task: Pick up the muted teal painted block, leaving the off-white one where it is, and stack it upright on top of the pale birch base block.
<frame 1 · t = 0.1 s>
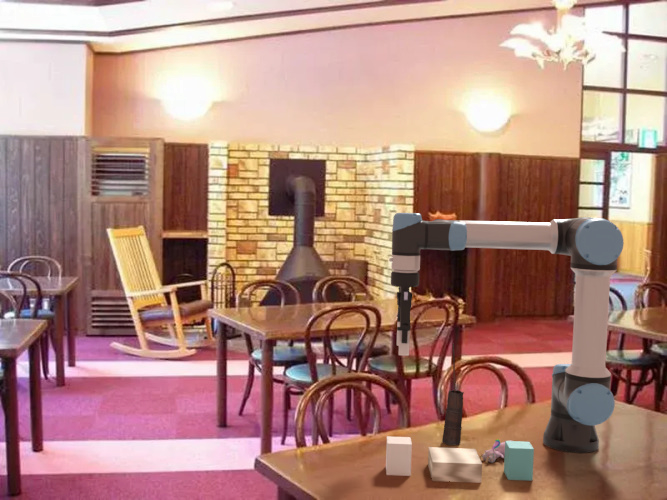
hand: (402, 350, 222), 28 cm above the table, fingers open, 13 cm apart
off-white block: (398, 471, 210), on the table
teal block: (518, 476, 209), on the table
butter churn: (454, 444, 234), on the table
pink animal figurine: (500, 459, 223), on the table
birch base: (453, 474, 209), on the table
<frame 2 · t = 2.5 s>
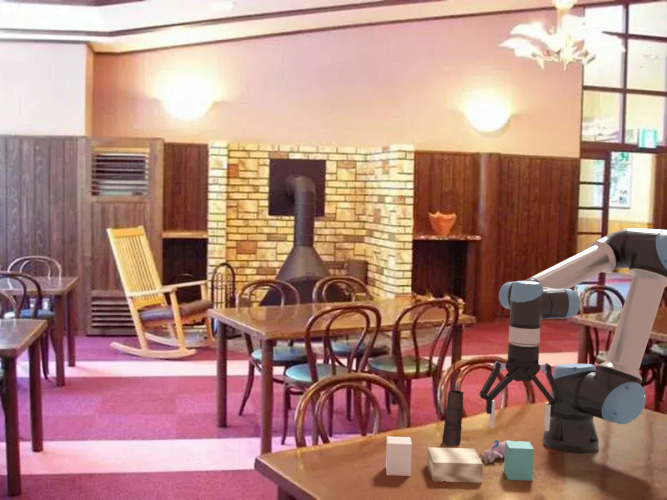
hand: (519, 428, 208), 12 cm above the table, fingers open, 13 cm apart
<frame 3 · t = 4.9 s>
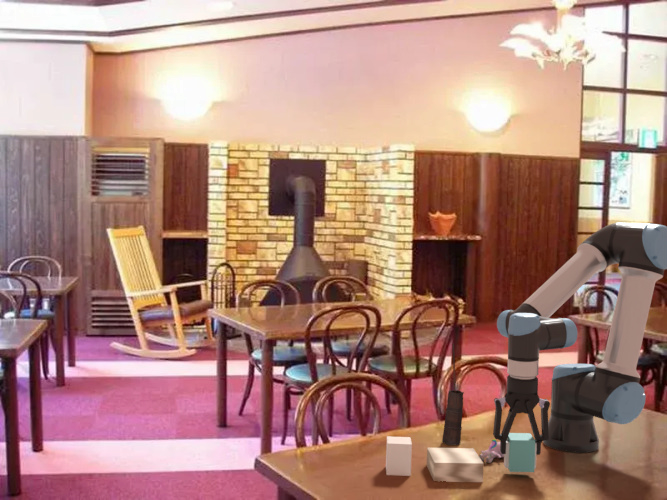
hand: (519, 466, 209), 2 cm above the table, fingers closed on teal block, 6 cm apart
teal block: (519, 467, 209), point 2 cm above the table, touching gripper
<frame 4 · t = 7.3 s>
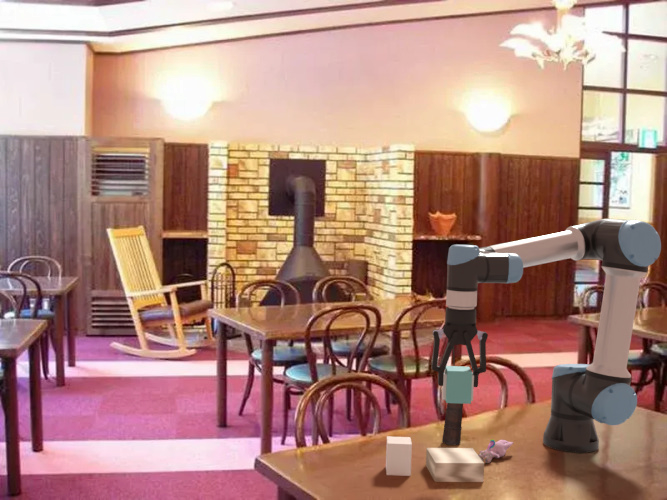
hand: (457, 399, 208), 19 cm above the table, fingers closed on teal block, 6 cm apart
teal block: (457, 400, 208), point 19 cm above the table, touching gripper
when the fingers open (6 cm above the table, at t = 9.9 s): teal block drops 1 cm, resting on birch base.
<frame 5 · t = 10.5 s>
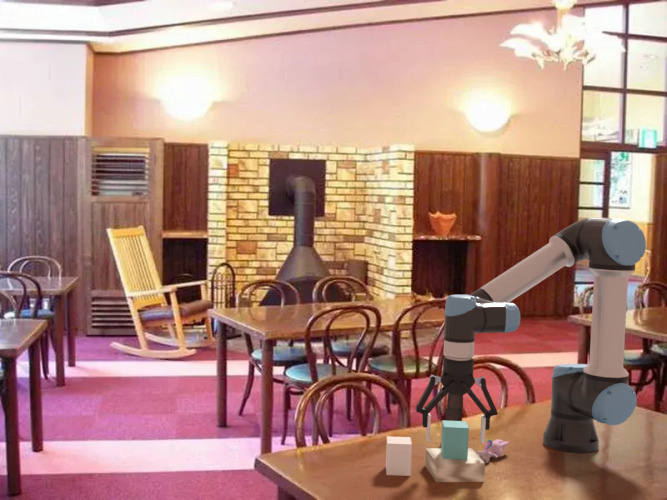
hand: (455, 441, 209), 8 cm above the table, fingers open, 13 cm apart
teal block: (454, 455, 209), point 5 cm above the table, touching birch base
birch base: (453, 475, 209), on the table, touching teal block
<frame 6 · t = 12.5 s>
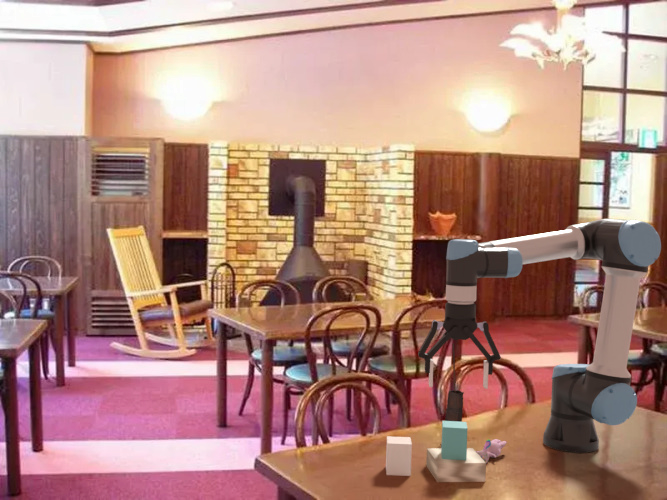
hand: (457, 386, 208), 22 cm above the table, fingers open, 13 cm apart
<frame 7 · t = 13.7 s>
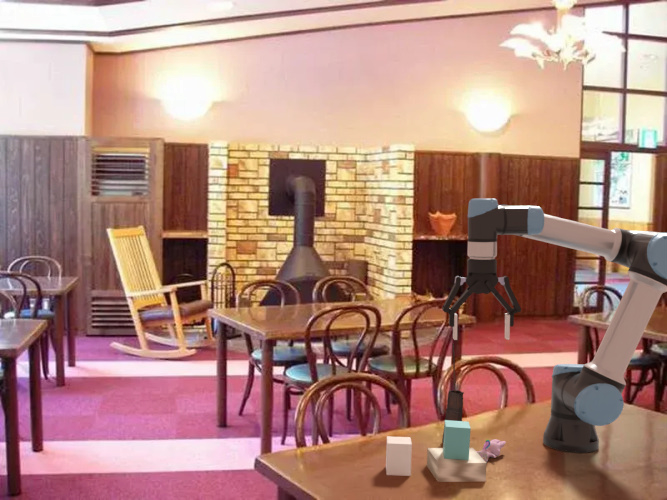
hand: (481, 339, 218), 32 cm above the table, fingers open, 13 cm apart
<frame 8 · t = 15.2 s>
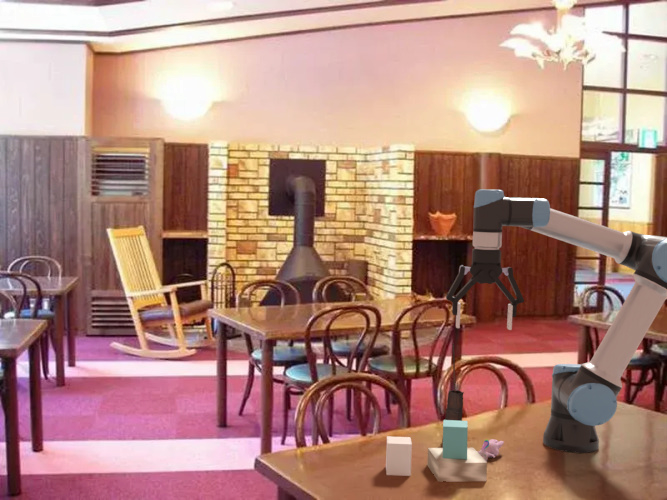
hand: (483, 328, 220), 35 cm above the table, fingers open, 13 cm apart
teal block: (454, 454, 209), point 5 cm above the table
birch base: (456, 474, 210), on the table
at the end: teal block 0.4 cm off-centre on the birch base, point 5.0 cm above the birch base's base; teal block tilted 0°; the gripper is holding nothing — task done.
